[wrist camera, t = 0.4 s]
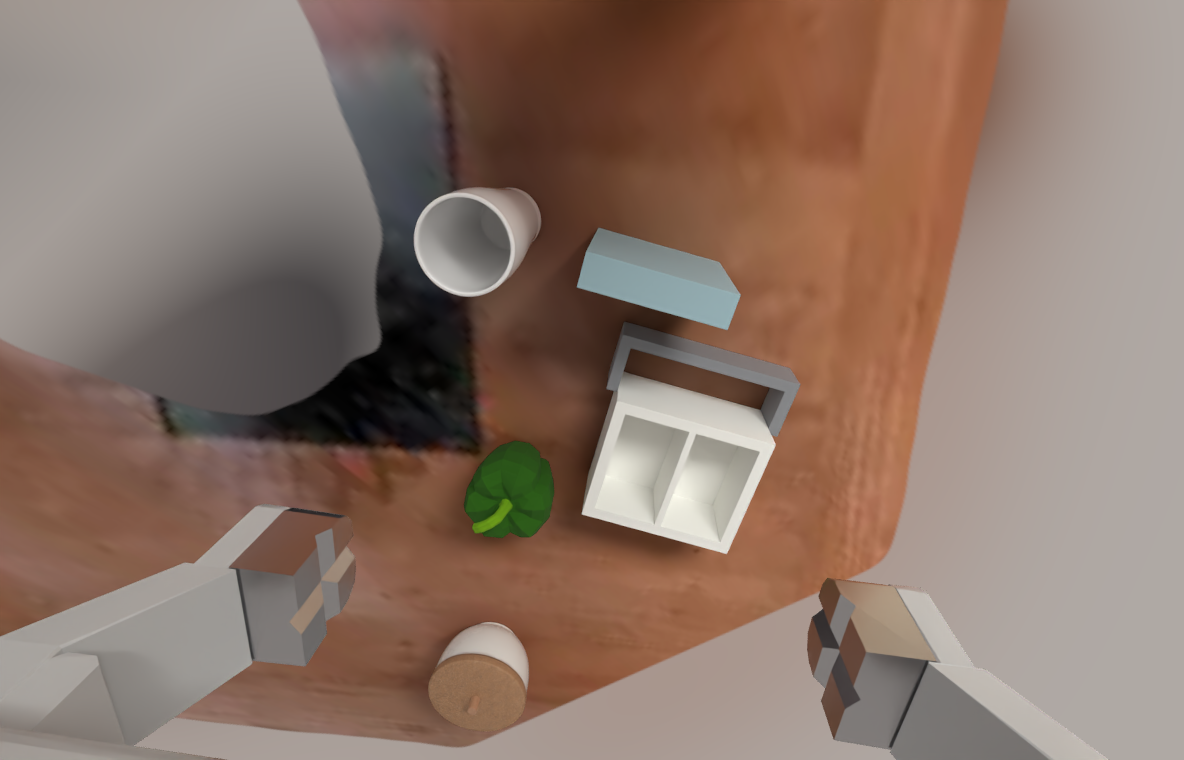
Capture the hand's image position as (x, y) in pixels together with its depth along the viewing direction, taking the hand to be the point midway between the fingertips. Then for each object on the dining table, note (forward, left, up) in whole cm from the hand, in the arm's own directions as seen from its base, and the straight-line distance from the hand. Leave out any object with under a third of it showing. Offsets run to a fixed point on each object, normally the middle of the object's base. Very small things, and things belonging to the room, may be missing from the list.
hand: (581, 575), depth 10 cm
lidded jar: (+51, -2, -44) cm, 67 cm away
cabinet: (+16, +10, -44) cm, 48 cm away
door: (+2, +3, -44) cm, 44 cm away
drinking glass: (+2, -10, -44) cm, 45 cm away
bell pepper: (+26, -4, -44) cm, 51 cm away
